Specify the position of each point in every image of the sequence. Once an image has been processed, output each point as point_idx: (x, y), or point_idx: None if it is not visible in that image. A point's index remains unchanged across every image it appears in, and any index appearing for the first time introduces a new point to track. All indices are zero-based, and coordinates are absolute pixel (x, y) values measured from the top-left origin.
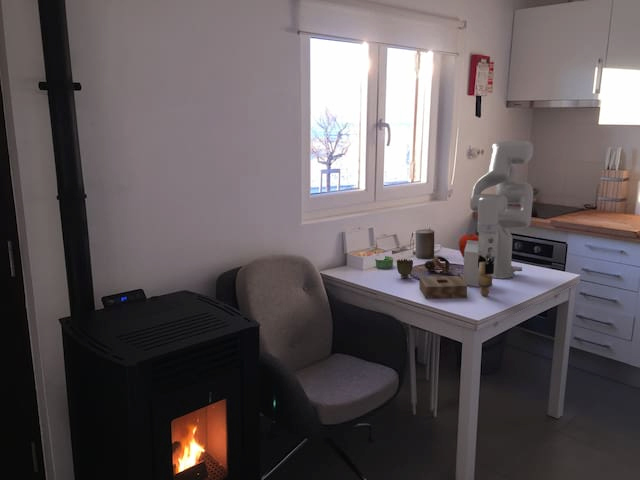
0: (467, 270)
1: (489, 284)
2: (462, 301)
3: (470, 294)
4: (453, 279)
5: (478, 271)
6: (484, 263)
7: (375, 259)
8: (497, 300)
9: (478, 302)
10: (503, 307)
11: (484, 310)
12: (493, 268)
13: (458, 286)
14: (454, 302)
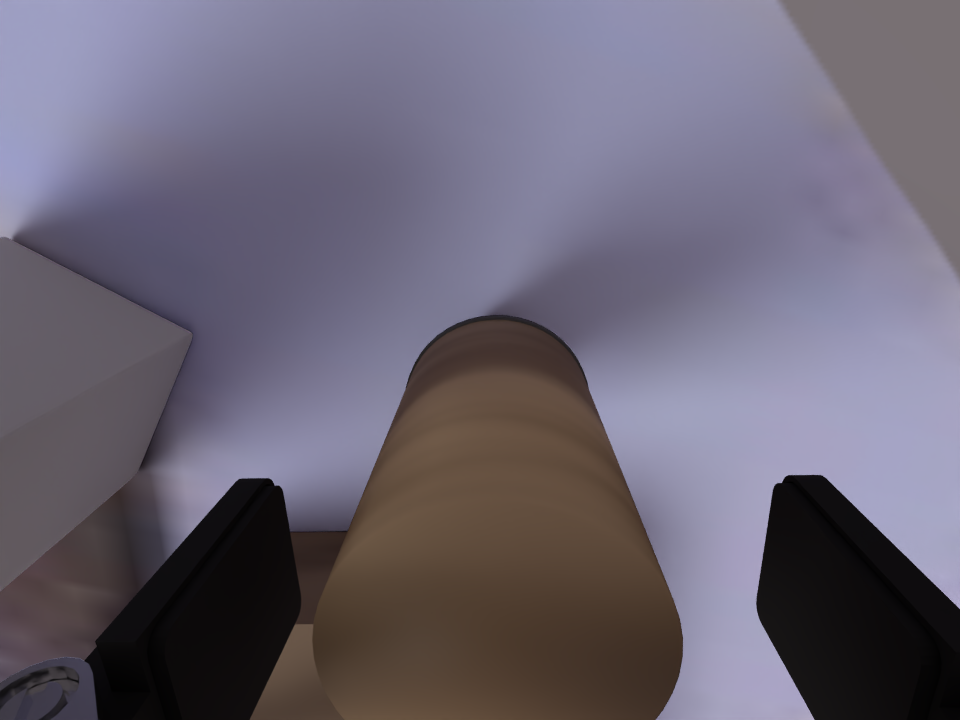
0: (16, 553)
1: (585, 380)
2: None
3: None
4: (308, 695)
5: (52, 429)
6: (504, 691)
7: None
8: (670, 260)
9: (699, 460)
10: (907, 261)
11: (933, 464)
12: (891, 551)
13: None
14: None
